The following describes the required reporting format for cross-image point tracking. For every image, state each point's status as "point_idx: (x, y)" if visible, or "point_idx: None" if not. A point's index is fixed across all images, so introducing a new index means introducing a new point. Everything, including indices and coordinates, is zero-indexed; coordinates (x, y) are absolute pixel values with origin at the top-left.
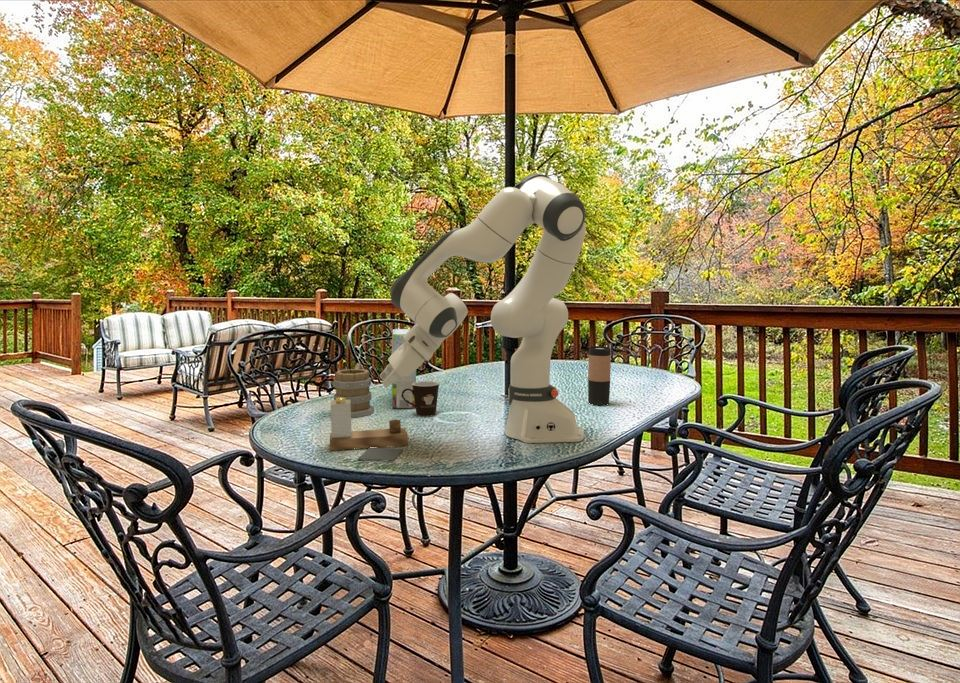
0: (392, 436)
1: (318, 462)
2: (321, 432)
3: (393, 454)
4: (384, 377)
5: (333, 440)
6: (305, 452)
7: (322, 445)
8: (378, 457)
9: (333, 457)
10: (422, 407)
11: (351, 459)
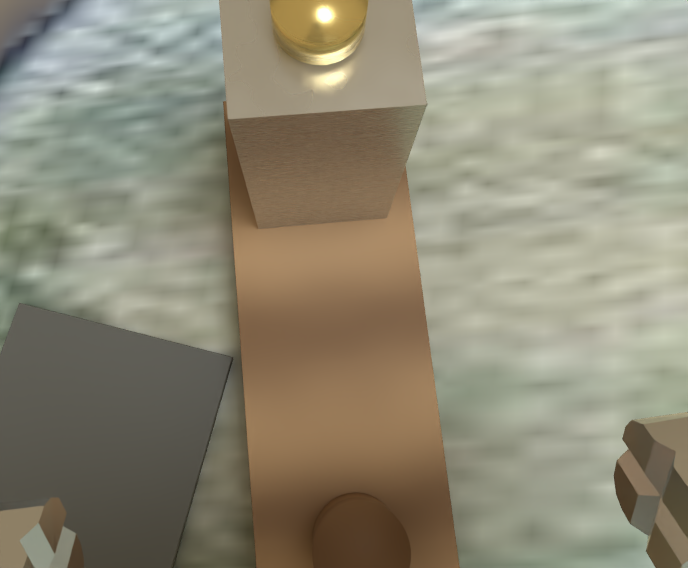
0: (253, 518)
1: (39, 99)
2: (622, 47)
3: None
4: (650, 507)
5: (225, 125)
6: None
7: None
8: (12, 426)
9: (111, 165)
10: None
11: (51, 266)
